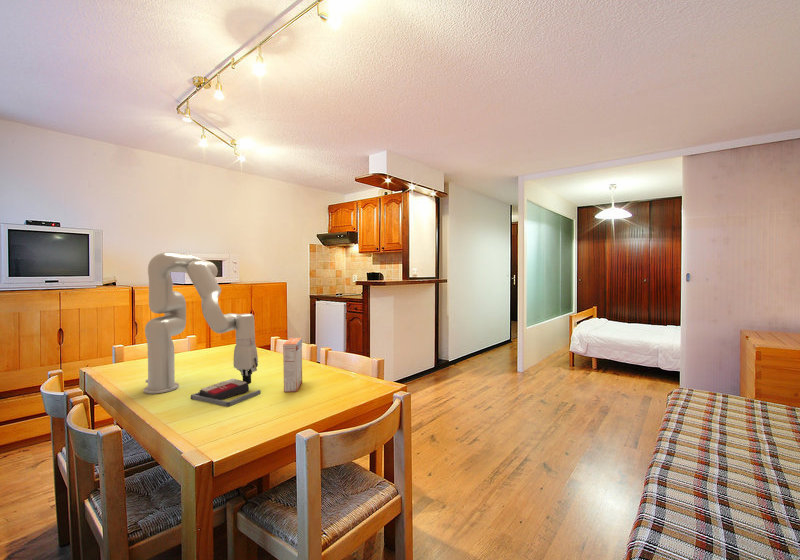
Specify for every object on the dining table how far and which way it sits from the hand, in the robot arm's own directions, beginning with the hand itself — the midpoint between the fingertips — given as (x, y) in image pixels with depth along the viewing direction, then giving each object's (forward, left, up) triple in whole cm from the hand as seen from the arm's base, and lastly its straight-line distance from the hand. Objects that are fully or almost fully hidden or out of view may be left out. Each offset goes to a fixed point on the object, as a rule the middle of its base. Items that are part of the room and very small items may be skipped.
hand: (247, 383), depth 151 cm
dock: (-1, -9, -2) cm, 10 cm away
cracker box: (+16, +11, -3) cm, 20 cm away
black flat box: (-3, -9, -2) cm, 9 cm away
